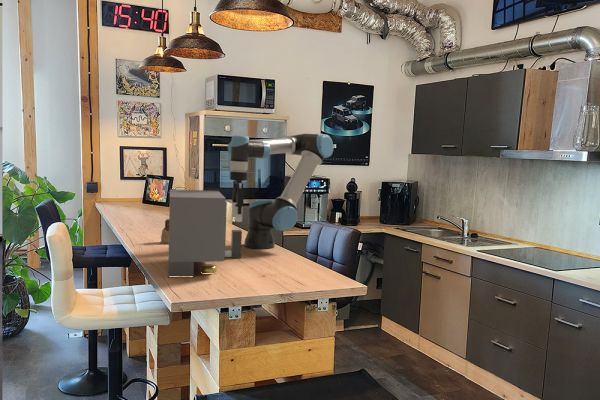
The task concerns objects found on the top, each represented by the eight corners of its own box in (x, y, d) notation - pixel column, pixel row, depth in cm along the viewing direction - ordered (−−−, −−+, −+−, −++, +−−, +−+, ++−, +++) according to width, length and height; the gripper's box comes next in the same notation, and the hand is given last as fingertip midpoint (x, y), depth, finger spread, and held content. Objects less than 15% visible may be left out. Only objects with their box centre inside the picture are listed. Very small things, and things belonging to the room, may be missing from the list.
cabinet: (219, 259, 213) (222, 190, 210) (227, 276, 187) (229, 198, 183) (168, 260, 208) (169, 189, 205) (168, 277, 181) (170, 197, 178)
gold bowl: (215, 271, 194) (215, 263, 194) (216, 275, 189) (217, 267, 188) (200, 271, 193) (200, 264, 192) (200, 275, 187) (201, 267, 187)
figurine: (177, 241, 246) (177, 218, 245) (174, 244, 239) (174, 220, 238) (163, 241, 246) (163, 217, 245) (159, 244, 239) (159, 219, 237)
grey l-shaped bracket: (239, 256, 222) (240, 229, 220) (240, 258, 218) (241, 231, 217) (194, 256, 216) (195, 229, 215) (194, 258, 213) (195, 231, 211)
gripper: (227, 169, 226) (225, 214, 228) (233, 172, 202) (231, 223, 204) (243, 169, 228) (241, 215, 230) (251, 173, 204) (249, 223, 206)
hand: (236, 219), depth 217 cm, fingers open, 13 cm apart
